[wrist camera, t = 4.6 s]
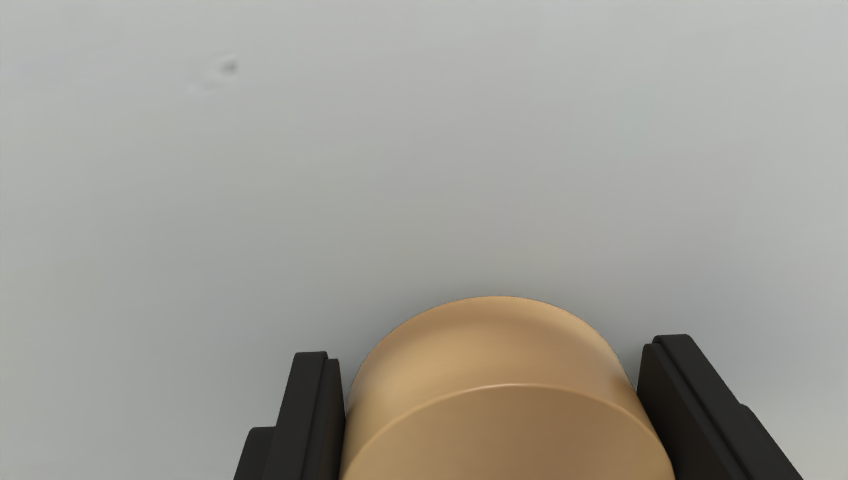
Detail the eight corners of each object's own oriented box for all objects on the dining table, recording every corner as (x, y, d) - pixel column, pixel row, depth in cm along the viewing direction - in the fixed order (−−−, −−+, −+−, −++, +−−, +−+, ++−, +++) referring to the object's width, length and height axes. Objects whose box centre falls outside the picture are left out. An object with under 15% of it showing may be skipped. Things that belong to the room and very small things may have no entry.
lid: (358, 521, 13) (349, 637, 11) (333, 301, 11) (315, 393, 9) (612, 508, 13) (655, 622, 11) (642, 287, 11) (704, 375, 9)
